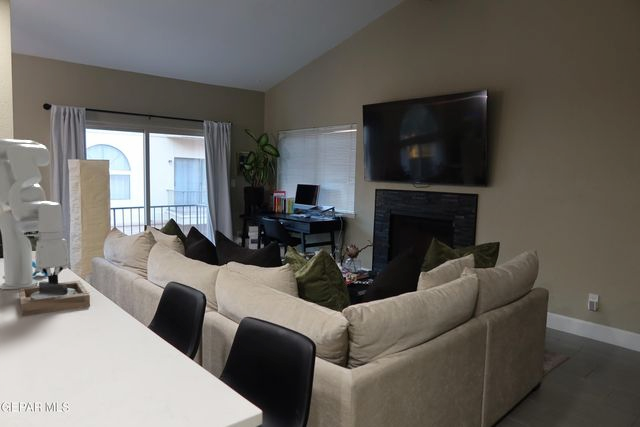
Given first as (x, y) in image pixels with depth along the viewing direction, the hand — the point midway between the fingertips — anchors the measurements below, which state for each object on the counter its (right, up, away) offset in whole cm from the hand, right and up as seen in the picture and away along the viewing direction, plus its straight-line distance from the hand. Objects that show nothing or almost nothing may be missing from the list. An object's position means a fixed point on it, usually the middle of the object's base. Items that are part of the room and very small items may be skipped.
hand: (53, 285), depth 162 cm
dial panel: (+2, -6, -3) cm, 7 cm away
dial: (+2, -4, -3) cm, 5 cm away
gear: (-26, -2, +33) cm, 43 cm away
